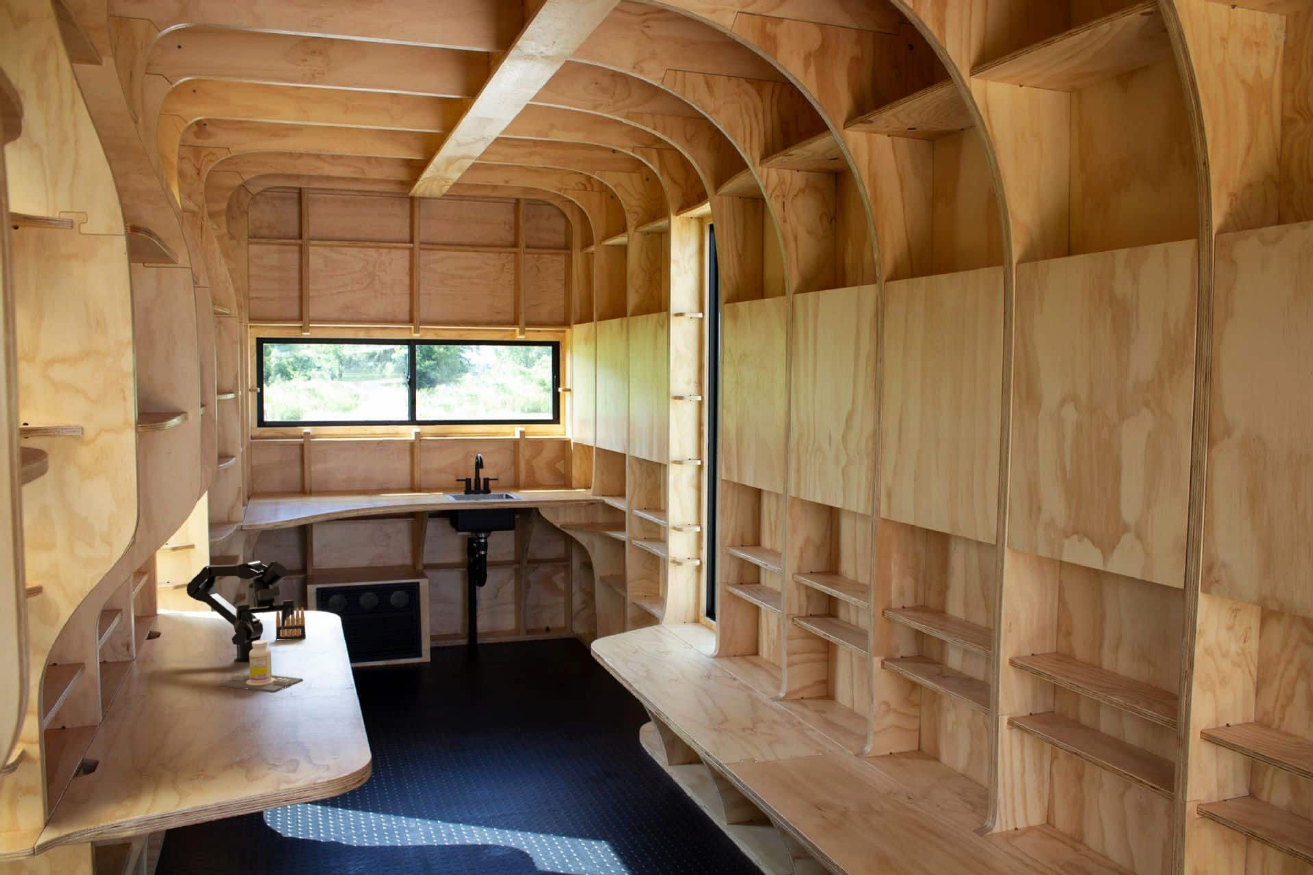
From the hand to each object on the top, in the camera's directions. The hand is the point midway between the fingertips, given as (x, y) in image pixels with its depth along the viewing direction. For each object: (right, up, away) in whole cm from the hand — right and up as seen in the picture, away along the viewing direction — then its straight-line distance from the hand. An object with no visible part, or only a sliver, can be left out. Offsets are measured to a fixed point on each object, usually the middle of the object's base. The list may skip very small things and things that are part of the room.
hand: (268, 630), depth 376 cm
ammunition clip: (-7, -11, +45) cm, 47 cm away
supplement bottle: (+3, -14, -15) cm, 21 cm away
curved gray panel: (+3, -15, -15) cm, 21 cm away
